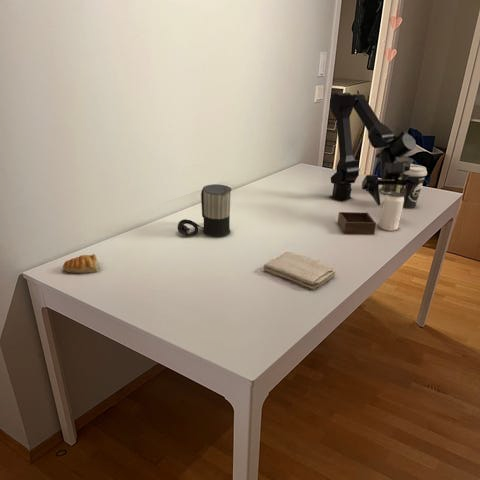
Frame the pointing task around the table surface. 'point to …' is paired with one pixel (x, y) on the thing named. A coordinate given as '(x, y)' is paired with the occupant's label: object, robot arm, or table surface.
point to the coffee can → (396, 188)
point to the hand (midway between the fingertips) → (392, 205)
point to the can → (391, 211)
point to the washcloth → (300, 269)
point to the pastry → (82, 264)
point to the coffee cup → (413, 196)
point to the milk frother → (212, 212)
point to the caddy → (356, 223)
